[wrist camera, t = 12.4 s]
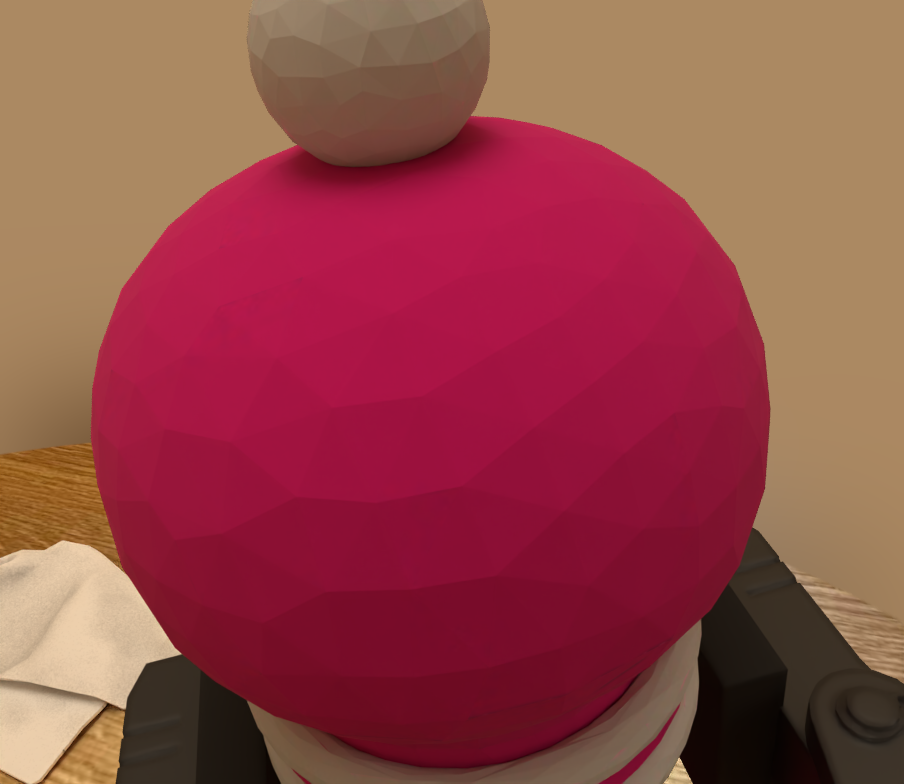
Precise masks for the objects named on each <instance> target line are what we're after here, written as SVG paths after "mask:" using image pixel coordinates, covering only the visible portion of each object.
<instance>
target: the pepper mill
mask: <svg viewBox="0 0 904 784" xmlns="http://www.w3.org/2000/svg"><path fill="white" fill-rule="evenodd" d="M247 44H248V52H249V59H250V67H251V72H252V75H253V78H254V81H255V84H256V87H257V90H258V92H259V94H260V96H261V98H262V100H263V102H264V104H265V106H266V108H267V110H268V112H269V113H270V115H271V116H272V117H273V118H274V120H275V121H276V122H277V123H278V124H279V125H280V127H281V128H282V129H283V130H284V131H285V133H286V134H287V135H288V136H289V138H290V139H291V140H292V141H293V142H294V143H296V144H297V145H296V146H294V147H292V148H289V149H287V150H285V151H282V152H280V153H277V154H275V155H273V156H270V157H268V158H266V159H263V160H261V161H259V162H257V163H255V164H254V165H252V166H251V167H249V168H247V169H245V170H243V171H242V172H240V173H238V174H237V175H235V176H233V177H232V178H230V179H228V180H227V181H225V182H223V183H221V184H220V185H218V186H216V187H215V188H213V189H211V190H210V191H209V192H207V193H206V194H205V195H204V196H203V197H202V198H200V199H199V200H198V201H197V202H196V203H195V204H194V205H192V206H191V207H190V208H189V209H188V210H187V211H185V212H184V213H183V214H182V215H181V216H180V217H179V218H177V219H176V220H175V221H174V222H173V223H172V224H170V225H169V226H168V227H167V229H166V230H165V231H164V233H163V234H162V235H161V237H160V238H159V239H158V241H157V242H156V243H155V245H154V246H153V248H152V249H151V250H150V252H149V253H148V254H147V256H146V257H145V258H144V260H143V261H142V263H141V264H140V265H139V266H138V268H137V269H136V270H135V272H134V273H133V274H132V276H131V277H130V279H129V280H128V281H127V283H126V284H125V285H124V287H123V288H122V290H121V292H120V295H119V298H118V301H117V303H116V306H115V309H114V312H113V315H112V317H111V320H110V322H109V325H108V328H107V331H106V334H105V336H104V339H103V342H102V344H101V347H100V350H99V354H98V360H97V366H96V371H95V377H94V382H93V388H92V418H91V442H92V449H93V456H94V463H95V470H96V477H97V484H98V488H99V491H100V494H101V498H102V501H103V505H104V508H105V511H106V515H107V518H108V521H109V525H110V528H111V531H112V535H113V538H114V541H115V545H116V548H117V551H118V555H119V558H120V562H121V565H122V568H123V569H124V571H125V572H126V574H127V575H128V577H129V578H130V580H131V581H132V583H133V584H134V586H135V588H136V589H137V591H138V592H139V594H140V595H141V597H142V598H143V600H144V601H145V603H146V604H147V606H148V608H149V609H150V611H151V612H152V614H153V615H154V617H155V618H156V620H157V621H158V623H159V624H160V626H161V628H162V629H163V631H164V632H165V634H166V635H167V637H168V638H169V640H170V641H171V643H172V644H173V646H174V647H175V649H177V650H178V651H179V652H180V653H181V654H183V655H184V656H185V657H186V658H187V659H189V660H190V661H191V662H192V663H193V664H195V665H196V666H197V667H198V668H199V669H201V670H202V671H203V672H204V673H205V674H207V675H208V676H209V677H210V678H211V679H213V680H214V681H215V682H217V683H218V684H220V685H222V686H223V687H225V688H227V689H229V690H230V691H232V692H234V693H235V694H237V695H239V696H241V697H242V698H244V699H246V700H247V702H248V705H249V707H250V710H251V712H252V714H253V717H254V719H255V721H256V724H257V726H258V728H259V730H260V731H261V732H262V734H263V735H264V741H265V744H266V747H267V750H268V753H269V756H270V759H271V763H272V766H273V768H274V770H275V772H276V774H277V776H278V778H279V780H280V782H281V784H663V783H664V782H665V780H666V779H667V778H668V777H669V775H670V773H671V771H672V769H673V767H674V766H675V764H676V762H677V760H678V758H679V756H680V754H681V752H682V751H683V749H684V747H685V745H686V742H687V739H688V736H689V733H690V730H691V727H692V723H693V720H694V717H695V714H696V710H697V700H698V689H699V674H698V661H697V658H698V654H699V647H700V641H701V635H702V634H701V618H702V617H703V616H704V615H706V614H707V613H708V612H709V611H710V610H711V609H712V607H713V606H714V604H715V603H716V601H717V600H718V598H719V596H720V595H721V593H722V592H723V590H724V589H725V587H726V586H727V584H728V583H729V581H730V580H731V578H732V576H733V575H734V573H735V572H736V570H737V569H738V567H739V565H740V562H741V559H742V556H743V553H744V550H745V547H746V544H747V541H748V538H749V535H750V532H751V529H752V526H753V523H754V520H755V517H756V514H757V511H758V508H759V505H760V502H761V499H762V496H763V493H764V490H765V479H766V467H767V453H768V439H769V426H770V401H769V391H768V382H767V371H766V361H765V351H764V343H763V340H762V337H761V335H760V332H759V329H758V327H757V324H756V321H755V319H754V316H753V313H752V311H751V308H750V305H749V302H748V300H747V297H746V295H745V292H744V289H743V286H742V283H741V281H740V278H739V276H738V273H737V270H736V267H735V265H734V264H733V262H732V261H731V260H730V259H729V257H728V256H727V255H726V253H725V252H724V251H723V249H722V248H721V247H720V245H719V244H718V243H717V241H716V240H715V239H714V237H713V236H712V235H711V234H710V232H709V231H708V230H707V228H706V227H705V226H704V224H703V223H702V222H701V220H700V219H699V218H698V216H697V215H696V214H695V213H694V211H693V210H692V209H691V208H690V206H689V205H688V204H687V202H686V201H685V199H683V198H682V197H680V196H679V195H678V194H677V193H675V192H674V191H673V190H671V189H670V188H669V187H667V186H666V185H665V184H663V183H662V182H660V181H659V180H658V179H657V178H655V177H654V176H652V175H651V174H650V173H649V172H647V171H646V170H644V169H642V168H641V167H639V166H637V165H635V164H633V163H632V162H630V161H628V160H627V159H625V158H623V157H621V156H620V155H618V154H616V153H614V152H612V151H611V150H609V149H607V148H605V147H604V146H602V145H599V144H596V143H593V142H591V141H588V140H585V139H582V138H579V137H577V136H574V135H571V134H568V133H565V132H562V131H559V130H556V129H553V128H550V127H545V126H541V125H536V124H532V123H527V122H521V121H516V120H510V119H504V118H496V117H495V118H494V117H477V116H471V114H472V113H473V111H474V110H475V108H476V106H477V103H478V101H479V98H480V96H481V93H482V91H483V88H484V85H485V83H486V80H487V74H488V68H489V49H490V48H489V47H490V46H489V45H490V27H489V23H488V19H487V15H486V12H485V8H484V4H483V1H482V0H253V2H252V6H251V9H250V13H249V22H248V34H247Z"/></svg>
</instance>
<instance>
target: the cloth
mask: <svg viewBox="0 0 904 784" xmlns="http://www.w3.org/2000/svg"><path fill="white" fill-rule="evenodd" d="M177 655H181V653H180V652H179V651H178V650H177V649H175V647H174V646H173V644H172V643H171V641H170V640H169V638H168V637H167V635H166V634H165V632H164V631H163V629H162V628H161V626H160V624H159V623H158V621H157V620H156V618H155V617H154V615H153V614H152V612H151V611H150V609H149V608H148V606H147V604H146V603H145V601H144V600H143V598H142V597H141V595H140V594H139V592H138V591H137V589H136V588H135V586H134V584H133V583H132V581H131V580H130V578H129V577H128V576H127V575H126V574H125V573H124V572H123V571H121V570H120V569H119V568H118V567H117V566H116V565H115V564H114V563H112V562H111V561H110V560H109V559H108V558H106V557H105V556H104V555H103V554H102V553H101V552H99V551H97V550H96V549H94V548H92V547H90V546H88V545H83V544H78V543H73V542H68V541H63V540H62V541H61V542H59V543H57V544H55V545H53V546H51V547H50V548H48V549H46V550H20V551H17V552H15V553H12V554H9V555H7V556H4V557H2V558H0V770H1V771H3V772H5V773H6V774H8V775H10V776H12V777H14V778H16V779H18V780H20V781H22V782H24V783H26V784H37V783H39V782H41V781H42V780H43V779H44V777H45V776H46V775H47V774H48V772H49V771H50V770H51V769H52V767H53V766H54V765H55V764H56V762H57V761H58V760H59V758H60V757H61V756H62V755H63V753H64V752H65V751H66V750H67V748H68V747H69V746H70V745H71V743H72V742H73V741H74V740H75V738H76V737H77V736H78V735H79V733H80V732H81V731H82V729H83V728H84V727H85V726H86V725H87V724H89V723H90V722H91V721H92V720H93V719H94V718H95V717H96V716H97V715H98V714H99V713H100V712H101V711H102V710H103V709H104V707H105V706H106V705H107V703H110V704H112V705H114V706H116V707H118V708H120V709H122V710H126V703H127V697H128V695H129V693H130V692H131V690H132V688H133V686H134V684H135V683H136V681H137V679H138V677H139V675H140V674H141V672H142V670H143V668H144V667H145V665H146V663H150V662H154V661H158V660H161V659H165V658H169V657H173V656H177Z"/></svg>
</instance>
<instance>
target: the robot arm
mask: <svg viewBox="0 0 904 784" xmlns="http://www.w3.org/2000/svg"><path fill="white" fill-rule="evenodd" d="M701 634H702V635H701V641H700V647H699V654H698V658H697V661H698V674H699V689H698V700H697V710H696V714H695V717H694V720H693V723H692V727H691V730H690V733H689V736H688V739H687V742H686V745H685V747H684V749H683V751H682V752H681V754H680V756H679V757H680V759H681V761H682V763H683V765H684V767H685V769H686V771H687V773H688V775H689V777H690V779H691V781H692V783H693V784H904V684H903V683H902V682H900V681H899V680H898V679H895V678H893V677H890V676H887V675H885V674H882V673H880V672H877V671H874V670H871V669H870V668H869V667H868V666H867V665H866V664H865V663H864V662H863V661H862V660H861V659H860V658H859V656H858V655H857V654H856V653H855V651H854V650H853V649H852V648H851V646H850V645H849V644H848V643H847V641H846V640H845V639H844V638H843V636H842V635H841V634H840V633H839V631H838V630H837V629H836V628H835V626H834V625H833V624H832V623H831V621H830V620H829V619H828V618H827V616H826V615H825V614H824V613H823V611H822V610H821V609H820V608H819V606H818V605H817V604H816V603H815V601H814V600H813V599H812V598H811V596H810V595H809V594H808V592H807V591H806V590H805V589H804V587H803V586H802V585H801V584H800V583H797V582H796V578H795V576H794V575H793V574H792V572H791V571H790V570H789V569H788V567H787V566H786V565H785V564H784V562H780V560H779V556H778V555H777V554H776V552H775V551H774V550H773V549H772V547H771V546H770V545H769V544H768V542H767V541H766V540H765V539H764V537H763V536H762V535H761V534H760V532H759V531H757V530H756V529H754V528H752V529H751V532H750V535H749V538H748V541H747V544H746V547H745V550H744V553H743V556H742V559H741V562H740V565H739V567H738V569H737V570H736V572H735V573H734V575H733V576H732V578H731V580H730V581H729V583H728V584H727V586H726V587H725V589H724V590H723V592H722V593H721V595H720V596H719V598H718V600H717V601H716V603H715V604H714V606H713V607H712V609H711V610H710V611H709V612H708V613H707V614H706V615H704V616H703V617H702V618H701ZM123 736H124V738H123V739H122V741H121V748H120V756H119V763H120V768H118V771H117V778H116V784H281V782H280V780H279V778H278V776H277V774H276V772H275V770H274V768H273V766H272V763H271V759H270V756H269V753H268V750H267V747H266V744H265V741H264V735H263V734H262V732H261V731H260V730H259V728H258V726H257V724H256V721H255V719H254V717H253V714H252V712H251V710H250V707H249V705H248V702H247V700H246V699H244V698H242V697H241V696H239V695H237V694H235V693H234V692H232V691H230V690H229V689H227V688H225V687H223V686H222V685H220V684H218V683H217V682H215V681H214V680H213V679H211V678H210V677H209V676H208V675H207V674H205V673H204V672H203V671H202V670H201V669H199V668H198V667H197V666H196V665H195V664H193V663H192V662H191V661H190V660H189V659H187V658H186V657H185V656H184V655H183V654H181V655H177V656H173V657H169V658H165V659H161V660H158V661H154V662H150V663H146V665H145V667H144V668H143V670H142V672H141V674H140V675H139V677H138V679H137V681H136V683H135V684H134V686H133V688H132V690H131V692H130V693H129V695H128V697H127V703H126V710H125V718H124V725H123Z"/></svg>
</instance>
